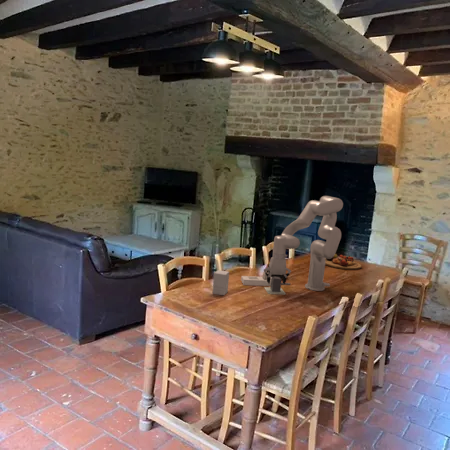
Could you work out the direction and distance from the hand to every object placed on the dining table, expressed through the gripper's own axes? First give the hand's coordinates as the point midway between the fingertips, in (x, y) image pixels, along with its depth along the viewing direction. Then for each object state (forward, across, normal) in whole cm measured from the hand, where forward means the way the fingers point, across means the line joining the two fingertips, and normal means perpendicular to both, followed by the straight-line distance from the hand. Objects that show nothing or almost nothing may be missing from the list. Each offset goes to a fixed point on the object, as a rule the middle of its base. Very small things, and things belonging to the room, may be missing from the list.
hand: (276, 283), depth 258 cm
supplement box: (+5, +35, +6) cm, 36 cm away
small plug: (+3, +2, -14) cm, 14 cm away
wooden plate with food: (+7, -74, -72) cm, 104 cm away
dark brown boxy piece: (+6, -8, -30) cm, 31 cm away
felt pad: (+5, 0, 0) cm, 5 cm away
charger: (+5, 0, 0) cm, 5 cm away
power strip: (+5, +2, -14) cm, 15 cm away
